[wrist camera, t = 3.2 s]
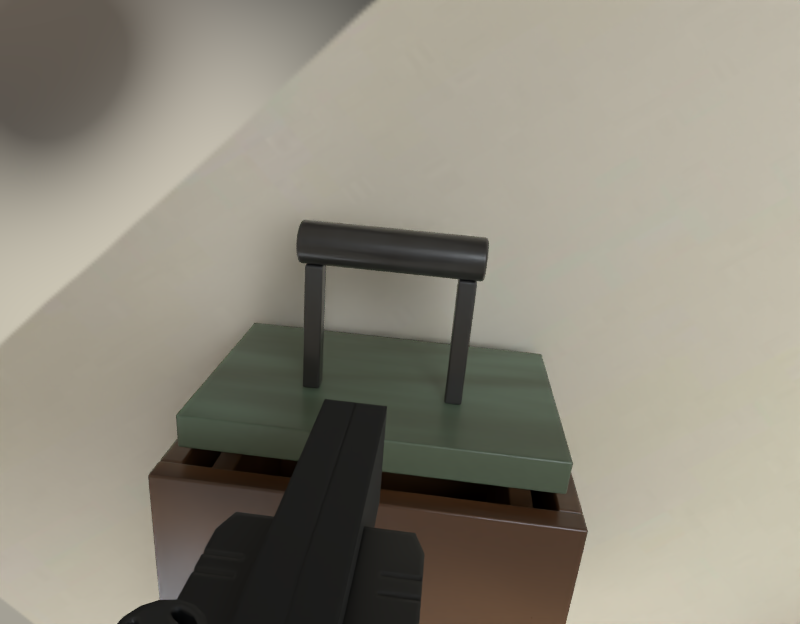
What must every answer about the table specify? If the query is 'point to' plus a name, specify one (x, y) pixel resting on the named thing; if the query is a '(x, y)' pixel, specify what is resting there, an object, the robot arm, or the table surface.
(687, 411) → the table surface
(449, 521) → the cabinet
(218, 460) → the drawer
